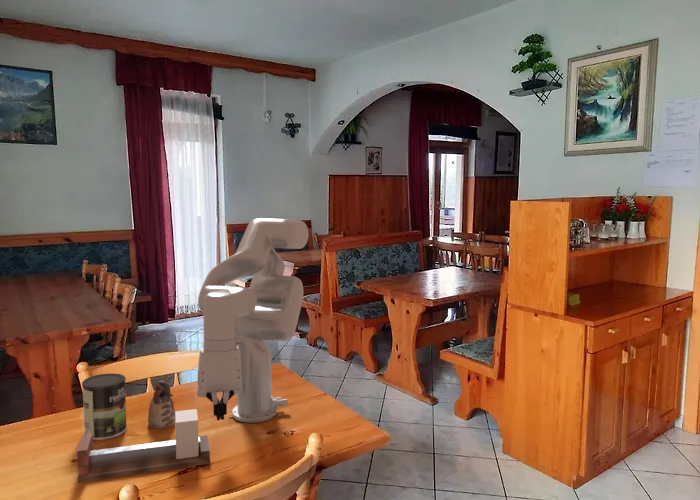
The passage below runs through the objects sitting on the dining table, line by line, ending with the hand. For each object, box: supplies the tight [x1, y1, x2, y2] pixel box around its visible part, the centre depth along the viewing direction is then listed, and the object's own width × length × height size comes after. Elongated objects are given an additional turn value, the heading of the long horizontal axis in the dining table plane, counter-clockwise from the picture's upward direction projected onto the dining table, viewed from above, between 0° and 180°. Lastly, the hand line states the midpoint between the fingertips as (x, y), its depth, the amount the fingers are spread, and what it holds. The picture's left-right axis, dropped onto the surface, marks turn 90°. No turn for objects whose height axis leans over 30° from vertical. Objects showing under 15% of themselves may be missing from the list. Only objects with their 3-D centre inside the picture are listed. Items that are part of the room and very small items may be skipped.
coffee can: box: [81, 372, 128, 441], centre depth 139 cm, size 10×10×14 cm
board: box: [76, 433, 211, 483], centre depth 124 cm, size 28×9×7 cm, turn 108°
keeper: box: [175, 408, 199, 459], centre depth 127 cm, size 5×6×9 cm
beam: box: [89, 436, 200, 468], centre depth 124 cm, size 24×2×3 cm, turn 108°
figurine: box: [147, 380, 176, 430], centre depth 145 cm, size 7×7×12 cm
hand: (220, 417), depth 128 cm, fingers closed
